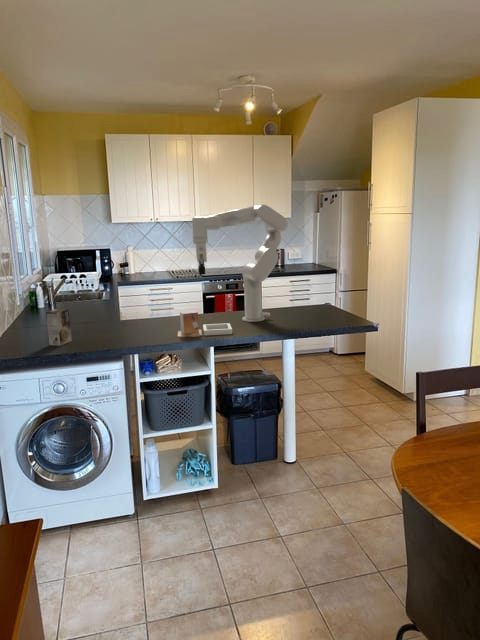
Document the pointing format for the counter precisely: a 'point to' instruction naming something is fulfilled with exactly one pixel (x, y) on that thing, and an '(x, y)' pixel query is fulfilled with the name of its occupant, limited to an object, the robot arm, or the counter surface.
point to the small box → (189, 322)
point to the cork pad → (189, 334)
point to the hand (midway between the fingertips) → (201, 273)
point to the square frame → (217, 329)
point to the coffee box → (59, 327)
